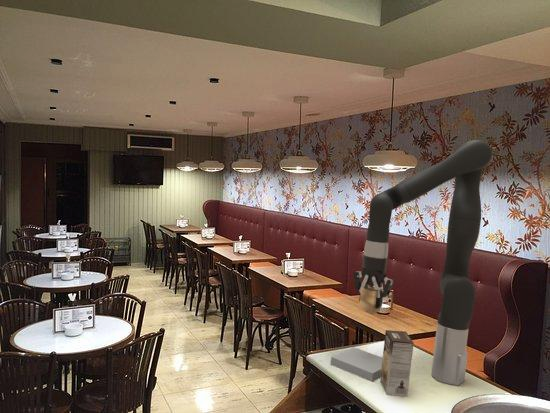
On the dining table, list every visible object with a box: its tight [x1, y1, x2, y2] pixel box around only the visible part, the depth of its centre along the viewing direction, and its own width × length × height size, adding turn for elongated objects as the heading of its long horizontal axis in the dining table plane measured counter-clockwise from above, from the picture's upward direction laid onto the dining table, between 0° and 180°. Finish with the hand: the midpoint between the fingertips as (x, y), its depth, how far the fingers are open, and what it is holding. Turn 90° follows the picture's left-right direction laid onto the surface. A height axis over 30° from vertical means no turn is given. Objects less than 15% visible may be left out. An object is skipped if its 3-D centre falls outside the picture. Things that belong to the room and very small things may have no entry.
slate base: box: [330, 346, 383, 382], centre depth 145 cm, size 15×14×2 cm
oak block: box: [358, 286, 382, 315], centre depth 146 cm, size 5×5×7 cm
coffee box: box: [379, 329, 415, 397], centre depth 130 cm, size 9×6×16 cm
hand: (369, 305), depth 146 cm, fingers closed on oak block, 5 cm apart
